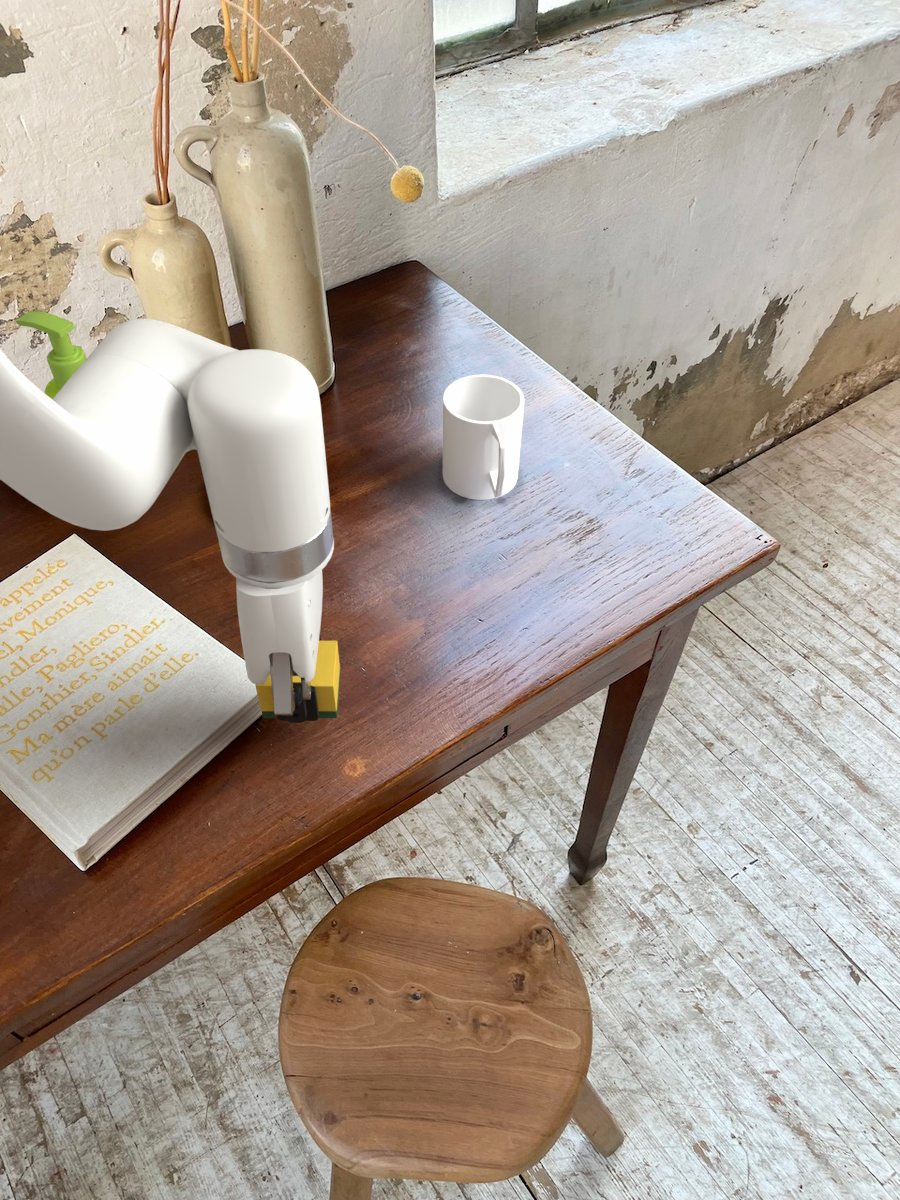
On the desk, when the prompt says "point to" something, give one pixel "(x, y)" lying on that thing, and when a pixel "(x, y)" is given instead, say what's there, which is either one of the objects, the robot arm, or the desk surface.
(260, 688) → the sponge
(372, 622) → the desk surface
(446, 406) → the cup
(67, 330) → the soap dispenser
